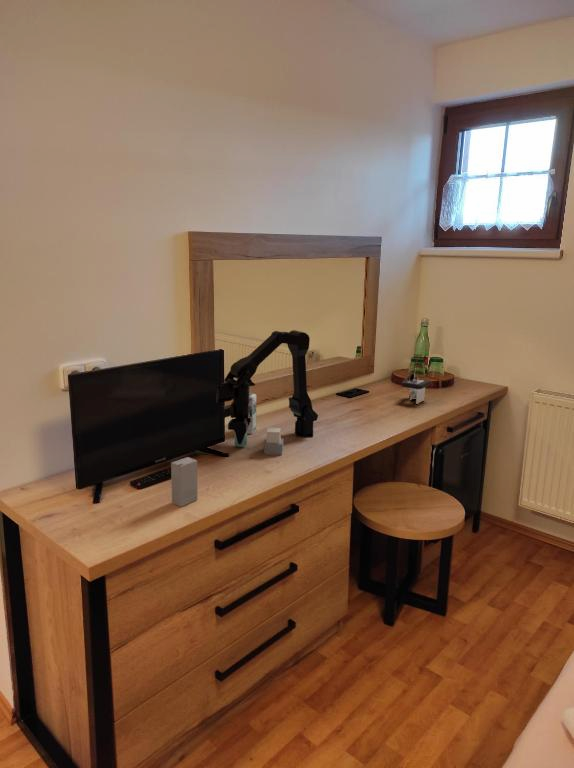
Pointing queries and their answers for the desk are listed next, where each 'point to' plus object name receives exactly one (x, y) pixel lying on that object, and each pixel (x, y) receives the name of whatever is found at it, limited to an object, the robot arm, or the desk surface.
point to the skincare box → (184, 481)
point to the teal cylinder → (242, 441)
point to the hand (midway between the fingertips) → (240, 441)
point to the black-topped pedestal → (416, 387)
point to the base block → (274, 448)
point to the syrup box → (252, 405)
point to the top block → (273, 435)
